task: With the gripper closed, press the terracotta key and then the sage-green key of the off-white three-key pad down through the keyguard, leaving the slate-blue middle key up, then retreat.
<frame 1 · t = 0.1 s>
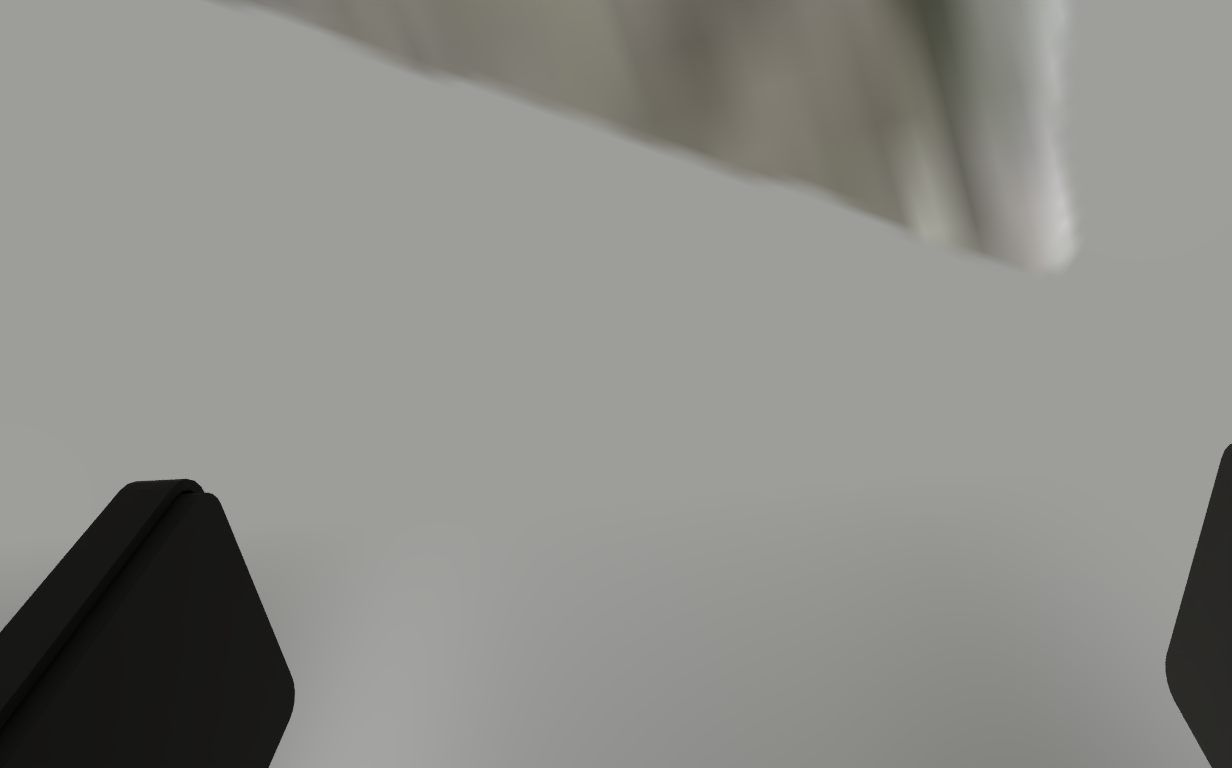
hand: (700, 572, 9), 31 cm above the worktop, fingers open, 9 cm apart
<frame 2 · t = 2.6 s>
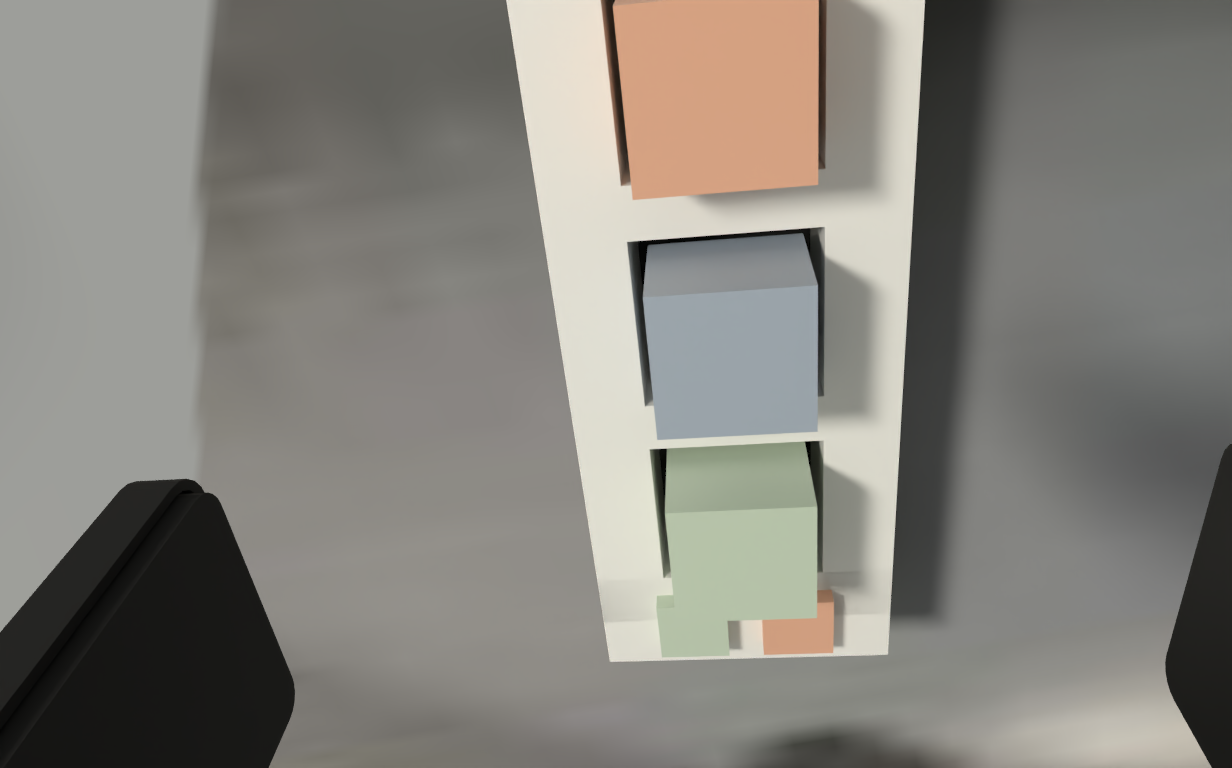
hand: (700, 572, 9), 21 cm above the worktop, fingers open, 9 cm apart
key terracotta: (717, 81, 22), point 4 cm above the worktop, slide at 0.0 cm
keyguard: (725, 271, 30), on the worktop
key slate: (730, 336, 26), point 4 cm above the worktop, slide at 0.0 cm
key sage: (740, 529, 30), point 4 cm above the worktop, slide at 0.0 cm
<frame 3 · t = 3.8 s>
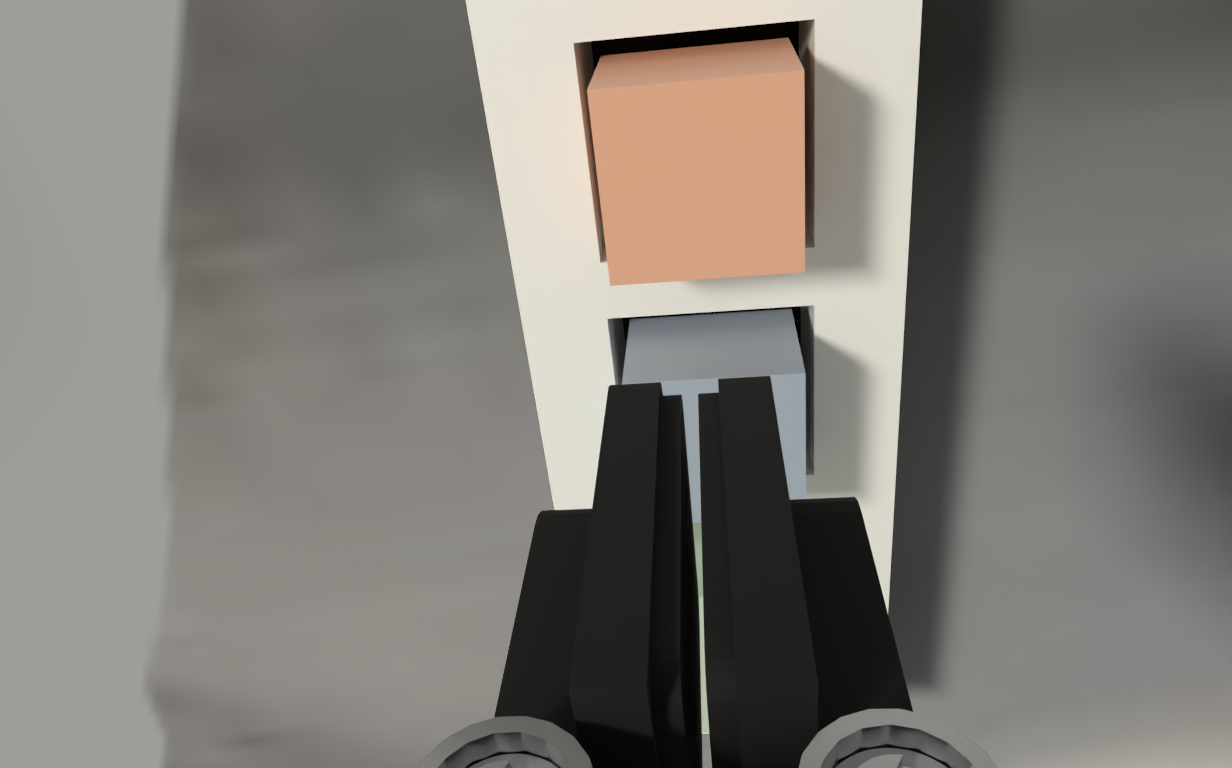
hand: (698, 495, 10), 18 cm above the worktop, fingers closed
key terracotta: (699, 160, 21), point 4 cm above the worktop, slide at 0.0 cm
keyguard: (712, 339, 29), on the worktop
key slate: (715, 416, 25), point 4 cm above the worktop, slide at 0.0 cm
key sage: (727, 609, 28), point 4 cm above the worktop, slide at 0.0 cm
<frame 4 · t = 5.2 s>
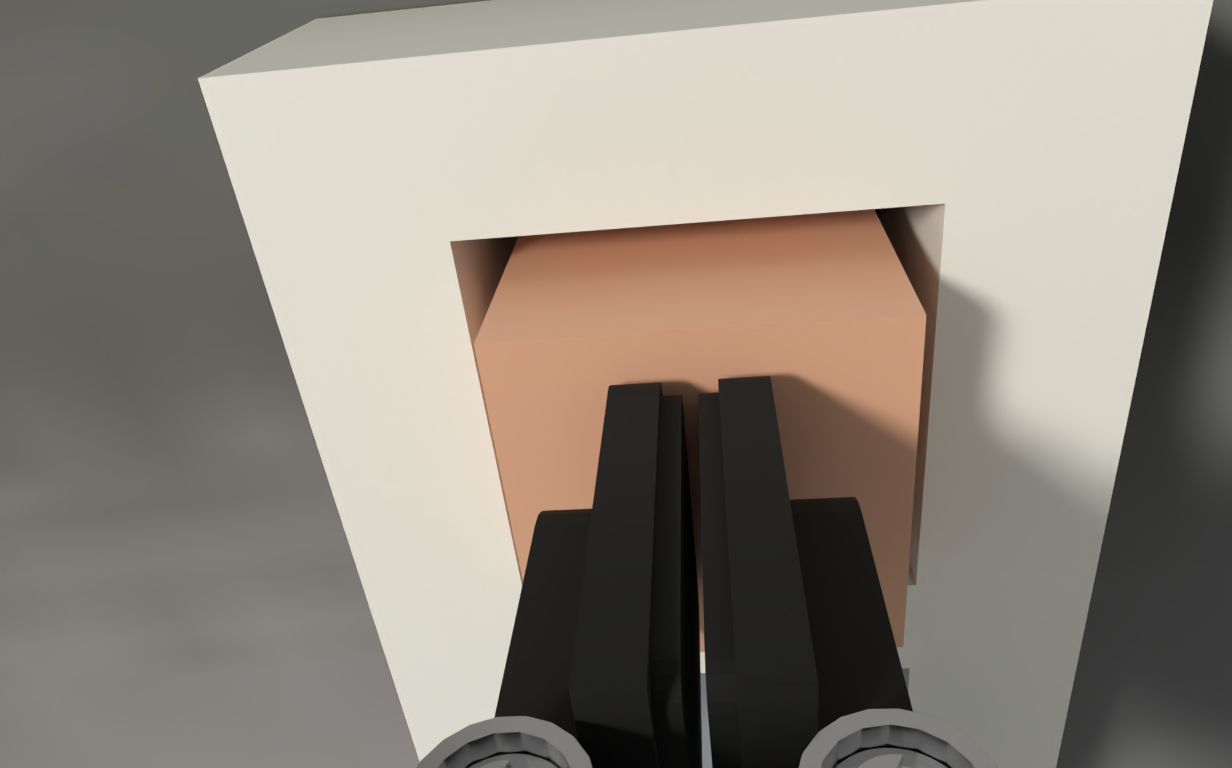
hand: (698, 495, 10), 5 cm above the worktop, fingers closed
key terracotta: (704, 421, 12), point 3 cm above the worktop, slide at 1.0 cm, touching gripper
keyguard: (722, 626, 18), on the worktop
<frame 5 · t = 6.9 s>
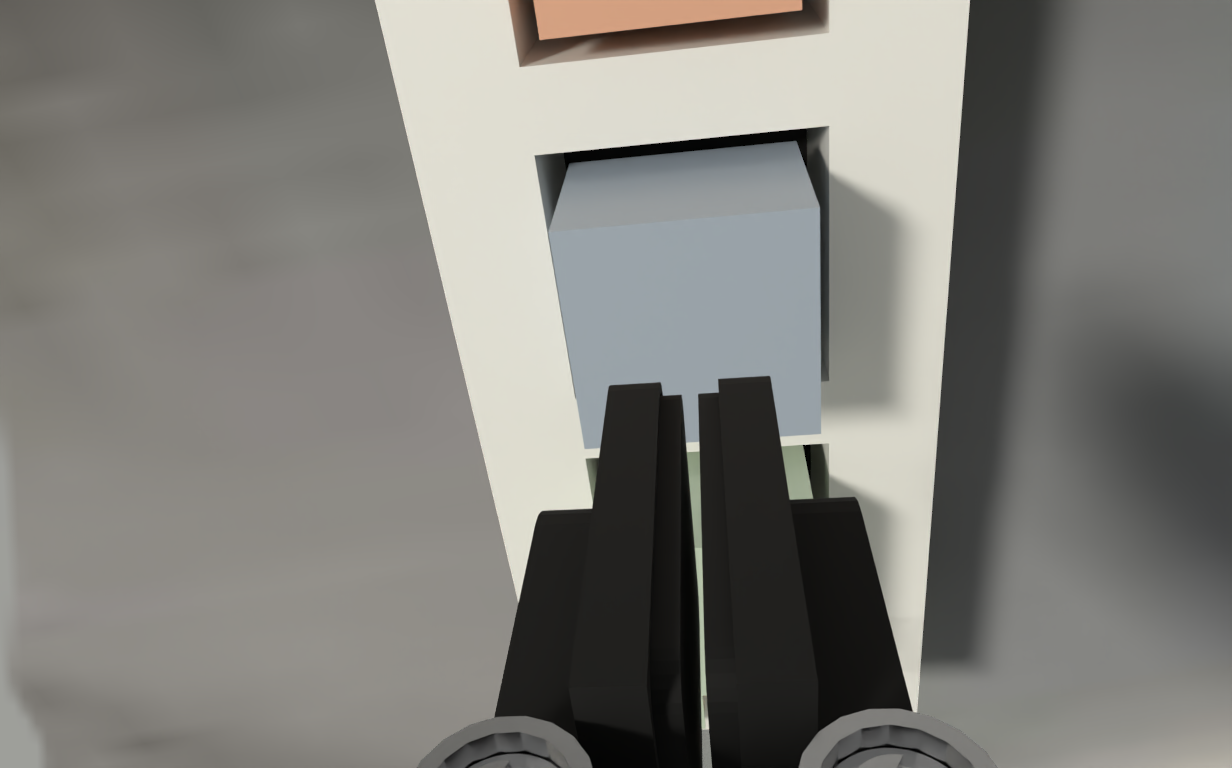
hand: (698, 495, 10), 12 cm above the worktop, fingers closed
keyguard: (688, 208, 21), on the worktop
key slate: (691, 294, 18), point 4 cm above the worktop, slide at 0.0 cm
key sage: (714, 568, 21), point 4 cm above the worktop, slide at 0.0 cm
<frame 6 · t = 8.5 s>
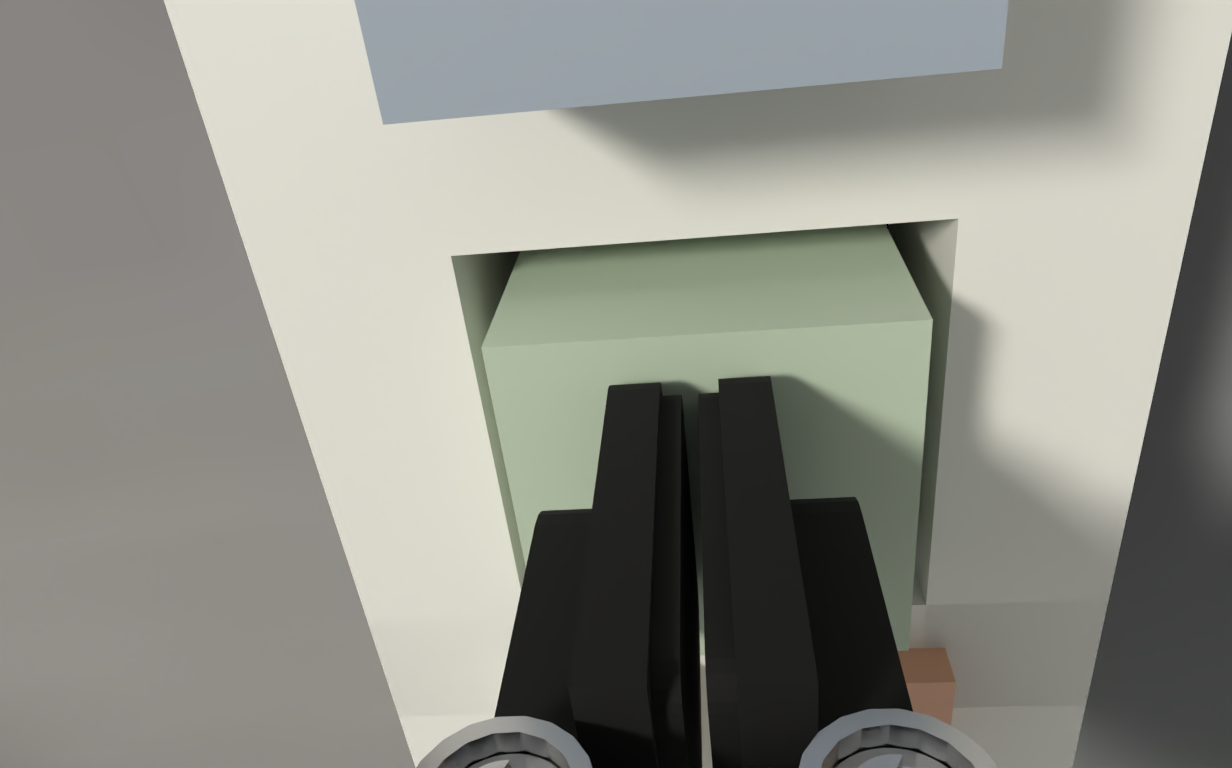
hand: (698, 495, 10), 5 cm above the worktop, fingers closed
key sage: (709, 424, 12), point 3 cm above the worktop, slide at 1.4 cm, touching gripper
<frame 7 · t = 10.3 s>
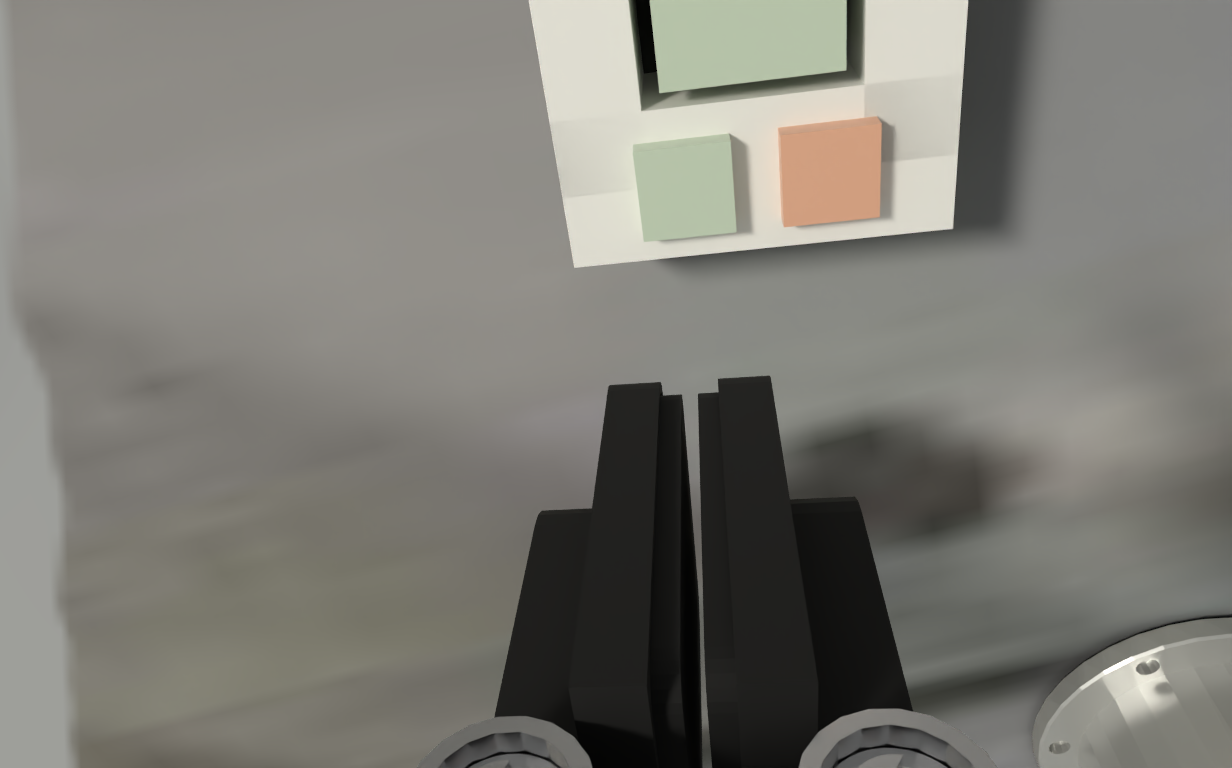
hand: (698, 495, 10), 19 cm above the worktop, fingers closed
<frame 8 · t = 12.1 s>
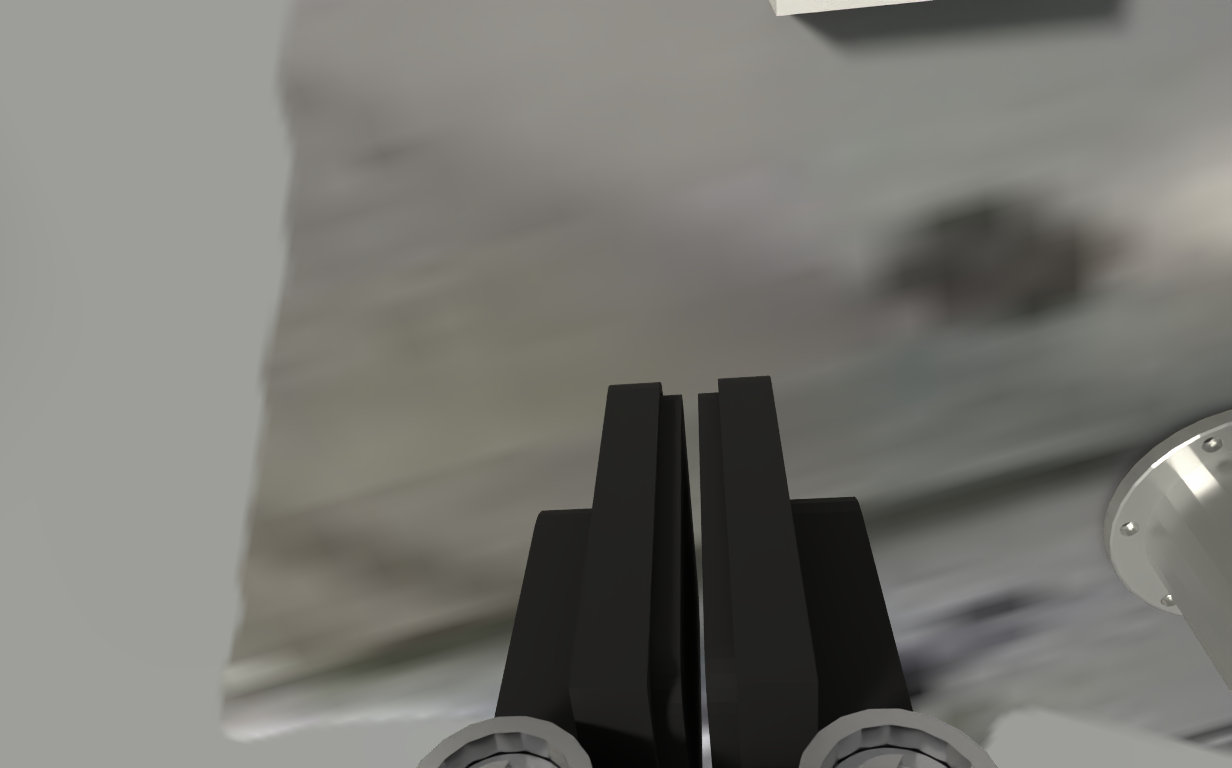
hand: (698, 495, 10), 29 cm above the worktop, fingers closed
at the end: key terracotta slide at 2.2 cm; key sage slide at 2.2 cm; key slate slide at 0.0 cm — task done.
